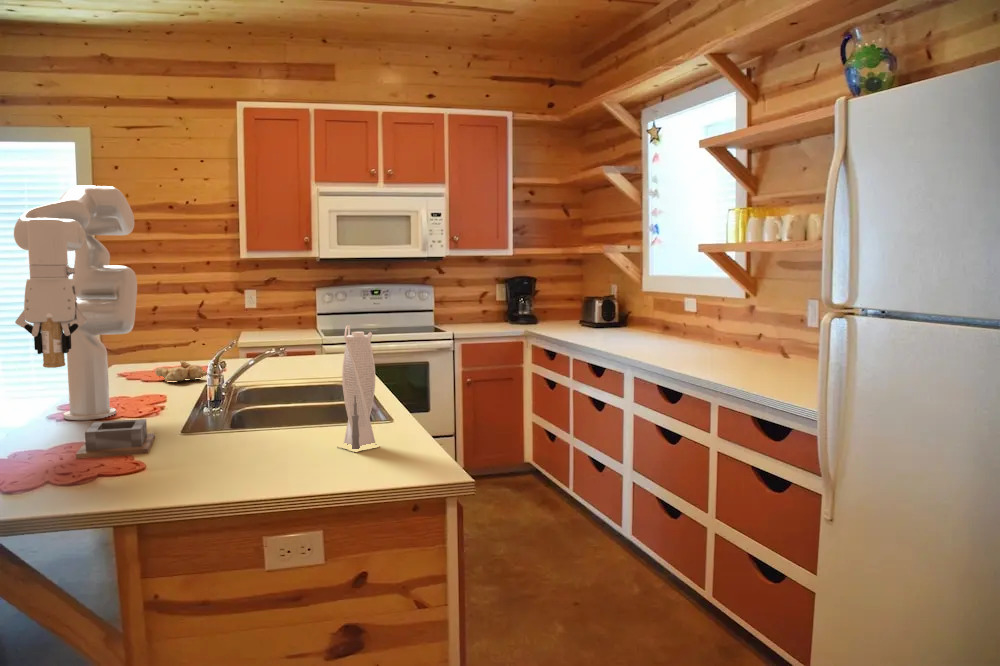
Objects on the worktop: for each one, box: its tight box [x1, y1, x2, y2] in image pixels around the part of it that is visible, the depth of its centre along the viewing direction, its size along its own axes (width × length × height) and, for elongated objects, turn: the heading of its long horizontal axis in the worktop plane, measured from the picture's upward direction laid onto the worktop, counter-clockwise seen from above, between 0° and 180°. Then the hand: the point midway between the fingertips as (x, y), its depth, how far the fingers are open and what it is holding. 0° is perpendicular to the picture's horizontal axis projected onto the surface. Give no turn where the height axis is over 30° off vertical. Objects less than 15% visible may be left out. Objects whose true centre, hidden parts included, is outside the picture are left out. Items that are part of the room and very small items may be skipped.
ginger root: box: [154, 359, 208, 382], centre depth 259 cm, size 16×16×8 cm
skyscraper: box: [341, 323, 376, 449], centre depth 170 cm, size 8×8×28 cm
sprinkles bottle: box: [41, 313, 66, 369], centre depth 171 cm, size 5×5×13 cm
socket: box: [75, 418, 156, 459], centre depth 170 cm, size 16×14×6 cm
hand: (53, 352), depth 171 cm, fingers closed on sprinkles bottle, 4 cm apart
